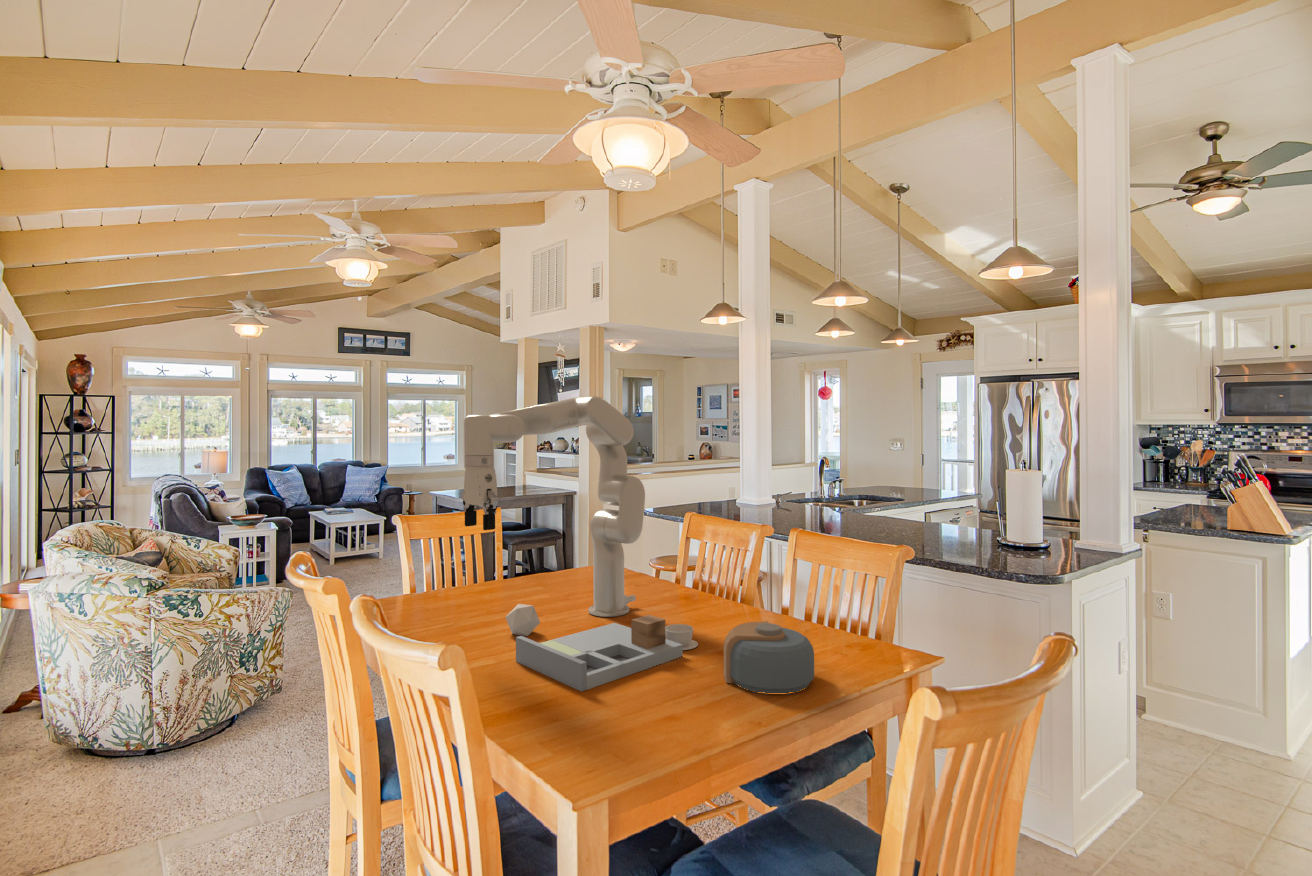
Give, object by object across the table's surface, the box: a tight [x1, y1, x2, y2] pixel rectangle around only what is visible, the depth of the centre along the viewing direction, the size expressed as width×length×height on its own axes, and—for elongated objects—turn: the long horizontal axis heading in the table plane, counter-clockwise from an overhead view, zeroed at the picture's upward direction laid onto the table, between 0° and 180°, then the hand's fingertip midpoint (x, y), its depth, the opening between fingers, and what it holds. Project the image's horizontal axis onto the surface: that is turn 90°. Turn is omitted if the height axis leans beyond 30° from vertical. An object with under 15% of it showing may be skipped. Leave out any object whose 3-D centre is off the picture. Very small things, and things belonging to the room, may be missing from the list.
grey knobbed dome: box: [723, 620, 815, 693], centre depth 150 cm, size 19×20×12 cm
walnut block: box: [630, 614, 666, 649], centre depth 166 cm, size 6×6×6 cm
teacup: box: [665, 623, 699, 651], centre depth 174 cm, size 10×10×5 cm
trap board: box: [515, 622, 684, 692], centre depth 163 cm, size 32×26×6 cm
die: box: [505, 603, 541, 637], centre depth 184 cm, size 8×9×10 cm
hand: (479, 527), depth 174 cm, fingers open, 9 cm apart
